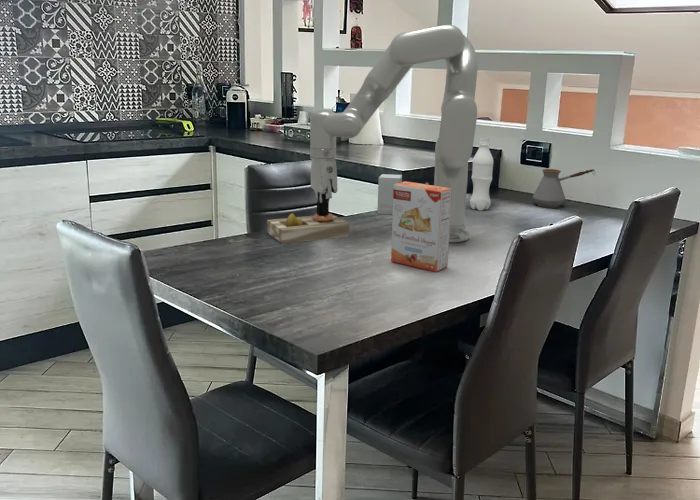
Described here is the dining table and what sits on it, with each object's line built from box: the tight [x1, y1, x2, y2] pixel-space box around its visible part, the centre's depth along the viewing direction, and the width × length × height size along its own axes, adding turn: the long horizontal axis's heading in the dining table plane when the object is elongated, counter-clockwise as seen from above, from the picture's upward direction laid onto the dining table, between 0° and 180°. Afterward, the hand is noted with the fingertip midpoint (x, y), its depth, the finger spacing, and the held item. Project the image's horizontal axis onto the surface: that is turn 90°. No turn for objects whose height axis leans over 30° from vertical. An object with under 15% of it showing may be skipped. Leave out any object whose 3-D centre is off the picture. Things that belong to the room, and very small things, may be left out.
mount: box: [266, 214, 350, 245], centre depth 203 cm, size 13×21×4 cm, turn 116°
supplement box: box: [376, 173, 403, 216], centre depth 232 cm, size 7×7×13 cm
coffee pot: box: [532, 168, 596, 209], centre depth 242 cm, size 21×12×15 cm, turn 51°
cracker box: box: [390, 181, 452, 273], centre depth 173 cm, size 14×6×21 cm, turn 53°
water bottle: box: [469, 136, 495, 211], centre depth 237 cm, size 7×7×25 cm
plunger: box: [313, 212, 334, 223], centre depth 205 cm, size 6×6×4 cm
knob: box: [286, 213, 302, 227], centre depth 200 cm, size 5×5×5 cm
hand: (322, 214), depth 204 cm, fingers closed
